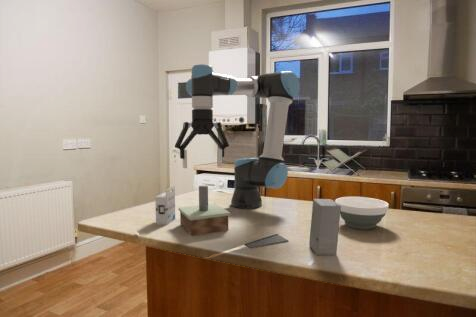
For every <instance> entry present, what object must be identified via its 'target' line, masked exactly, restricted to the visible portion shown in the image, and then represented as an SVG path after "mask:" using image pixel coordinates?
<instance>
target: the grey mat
mask: <svg viewBox="0 0 476 317" xmlns="http://www.w3.org/2000/svg"><path fill="white" fill-rule="evenodd" d="M282 242H283V243H286V242H289V239H287V238H285V237H284V236H281V235H280V234H278V233H275V234H272V235H269V236H266V237H262V238H259V239H257V240H253V241H250V242H247V243H246V242H245V243H244V246H245V247H246V246H247V249H249V248H250V249H255V248H259V246H261V247H266V246H271V244H272V245H276V244H281V243H282ZM265 245H266V246H265ZM254 247H255V248H254Z"/></svg>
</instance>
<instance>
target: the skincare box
mask: <svg viewBox="0 0 476 317" xmlns="http://www.w3.org/2000/svg"><path fill="white" fill-rule="evenodd" d="M311 207H312V210H311V220H310V231H309V232H310V233H309V242H308V245H309V247H311V249H312V250H313V252H314V253H315V254H316V255H317V256H325V255H326V256H327V255H328V256H334V255H337V254H338V253H337V250H338V239H339V230H340V219H341V215H340V211H341V206H340V205H338V204H337V202H335V200H333V199H331V198H330V199H329V198H327V199H326V198H313V199H312V206H311Z"/></svg>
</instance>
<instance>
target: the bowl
mask: <svg viewBox="0 0 476 317" xmlns="http://www.w3.org/2000/svg"><path fill="white" fill-rule="evenodd" d="M334 202H337V204H338V205H340V206H341V211H340V218H341V219H342V220H343V221H344V224H345V225H346V226H347V227H349V228H351V229H356V230H364V231H366V230H373V229H375V228H376V227H377V225H378V224H379V223H380V222H381V221H382V219H383V218H384V217H385V216H386V214H387V213H388V211H389V203H388V202H387V201H385V200H381V199H379V198H374V197H366V196H342V197H338V198H336V199H335V200H334Z"/></svg>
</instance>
